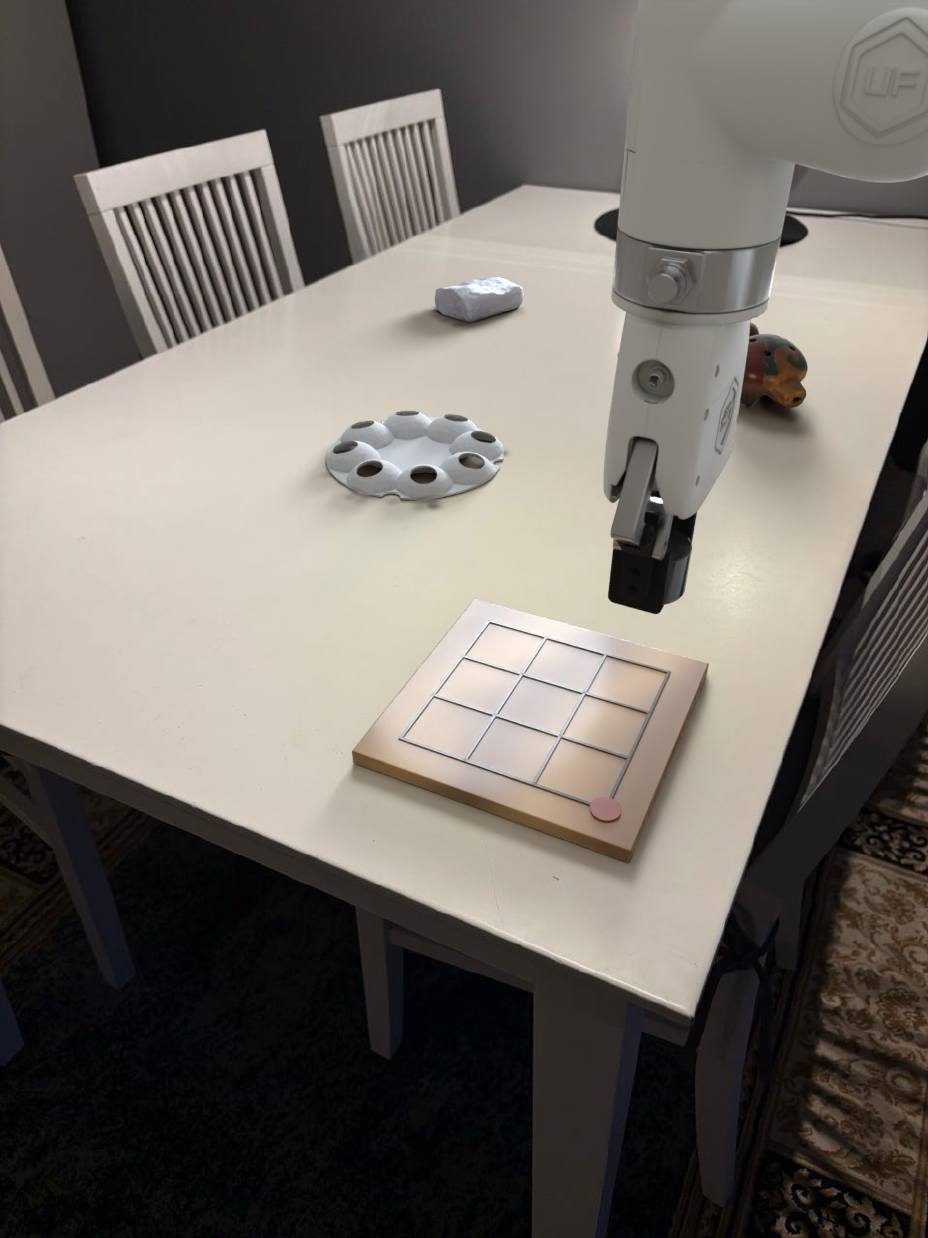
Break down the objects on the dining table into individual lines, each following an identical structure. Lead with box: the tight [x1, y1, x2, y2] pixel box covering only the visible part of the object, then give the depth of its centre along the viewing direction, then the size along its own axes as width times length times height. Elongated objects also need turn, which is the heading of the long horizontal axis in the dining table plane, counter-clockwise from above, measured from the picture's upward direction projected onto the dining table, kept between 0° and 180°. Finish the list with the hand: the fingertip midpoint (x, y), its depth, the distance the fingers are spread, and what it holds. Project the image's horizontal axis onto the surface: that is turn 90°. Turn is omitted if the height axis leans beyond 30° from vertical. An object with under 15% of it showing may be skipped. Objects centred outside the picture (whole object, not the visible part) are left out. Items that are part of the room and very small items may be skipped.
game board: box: [351, 598, 710, 864], centre depth 67 cm, size 20×20×1 cm
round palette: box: [325, 410, 505, 501], centre depth 100 cm, size 20×20×2 cm
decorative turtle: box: [740, 321, 808, 409], centre depth 111 cm, size 10×15×8 cm, turn 23°
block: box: [434, 276, 525, 323], centre depth 139 cm, size 12×5×10 cm
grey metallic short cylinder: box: [646, 523, 693, 606], centre depth 54 cm, size 4×4×3 cm
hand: (649, 580), depth 54 cm, fingers closed on grey metallic short cylinder, 4 cm apart
